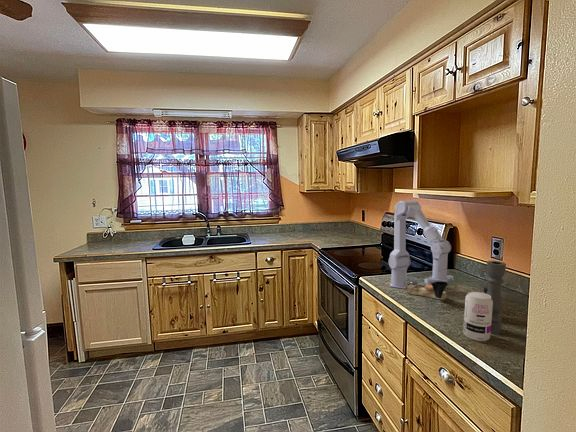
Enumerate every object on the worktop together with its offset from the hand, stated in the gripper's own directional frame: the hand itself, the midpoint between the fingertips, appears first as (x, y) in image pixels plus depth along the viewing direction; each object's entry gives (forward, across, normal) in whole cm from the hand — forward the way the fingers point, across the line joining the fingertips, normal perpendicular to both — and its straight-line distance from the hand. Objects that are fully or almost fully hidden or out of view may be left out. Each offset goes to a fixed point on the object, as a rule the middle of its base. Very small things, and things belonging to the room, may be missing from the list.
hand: (438, 297), depth 145 cm
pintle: (+2, -4, +12) cm, 12 cm away
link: (+1, -1, +7) cm, 7 cm away
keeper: (+2, +1, +6) cm, 7 cm away
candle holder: (+2, -2, -28) cm, 28 cm away
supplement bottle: (+2, +6, -20) cm, 21 cm away
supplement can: (+2, -12, -30) cm, 32 cm away
